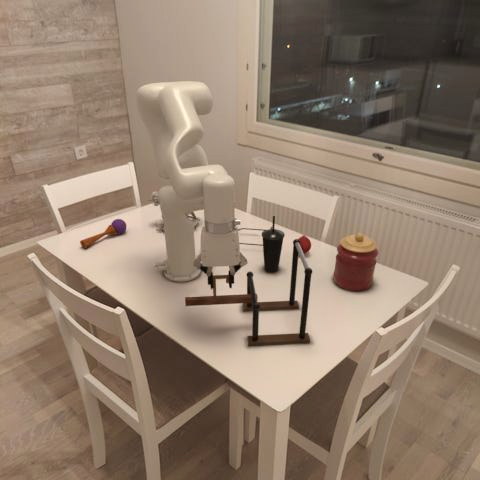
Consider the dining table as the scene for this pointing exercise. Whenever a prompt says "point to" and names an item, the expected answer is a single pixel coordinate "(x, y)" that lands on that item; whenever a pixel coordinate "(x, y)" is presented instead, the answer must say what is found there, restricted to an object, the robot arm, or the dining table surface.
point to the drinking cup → (272, 248)
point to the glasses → (251, 229)
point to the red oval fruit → (305, 244)
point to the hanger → (218, 299)
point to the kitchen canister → (355, 262)
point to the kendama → (106, 232)
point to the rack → (281, 306)
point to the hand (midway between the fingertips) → (221, 285)
